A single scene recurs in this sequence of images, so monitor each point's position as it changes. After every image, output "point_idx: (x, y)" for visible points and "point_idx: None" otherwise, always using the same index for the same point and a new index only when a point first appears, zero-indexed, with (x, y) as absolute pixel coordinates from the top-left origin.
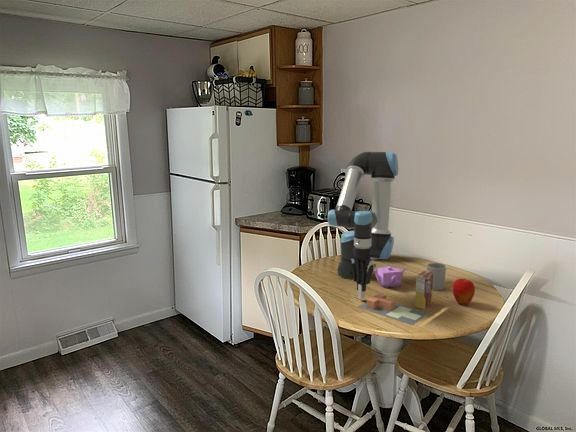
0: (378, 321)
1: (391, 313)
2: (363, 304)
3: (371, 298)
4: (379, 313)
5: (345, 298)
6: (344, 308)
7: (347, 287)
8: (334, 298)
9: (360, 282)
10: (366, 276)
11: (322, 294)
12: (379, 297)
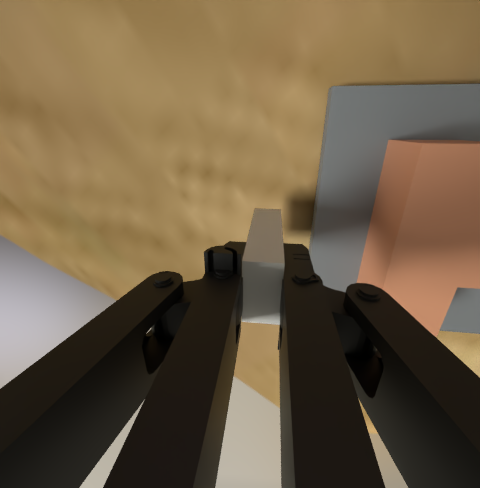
0: (466, 365)
1: None
2: (315, 270)
3: (394, 295)
4: (461, 322)
5: (157, 225)
6: (243, 332)
7: (2, 20)
8: (118, 263)
9: (241, 294)
10: (341, 363)
11: (36, 256)
12: (456, 240)
